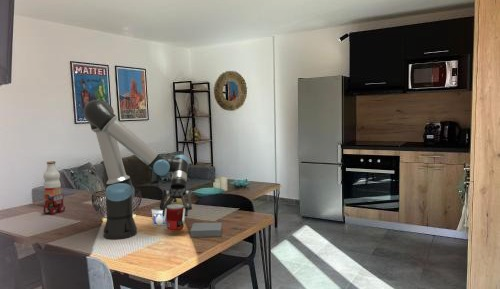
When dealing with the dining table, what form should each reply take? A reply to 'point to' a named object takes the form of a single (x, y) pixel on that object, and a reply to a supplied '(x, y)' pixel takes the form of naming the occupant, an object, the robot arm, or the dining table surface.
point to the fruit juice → (51, 181)
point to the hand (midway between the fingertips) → (174, 222)
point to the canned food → (175, 217)
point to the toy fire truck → (54, 204)
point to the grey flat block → (206, 229)
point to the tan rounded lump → (175, 201)
